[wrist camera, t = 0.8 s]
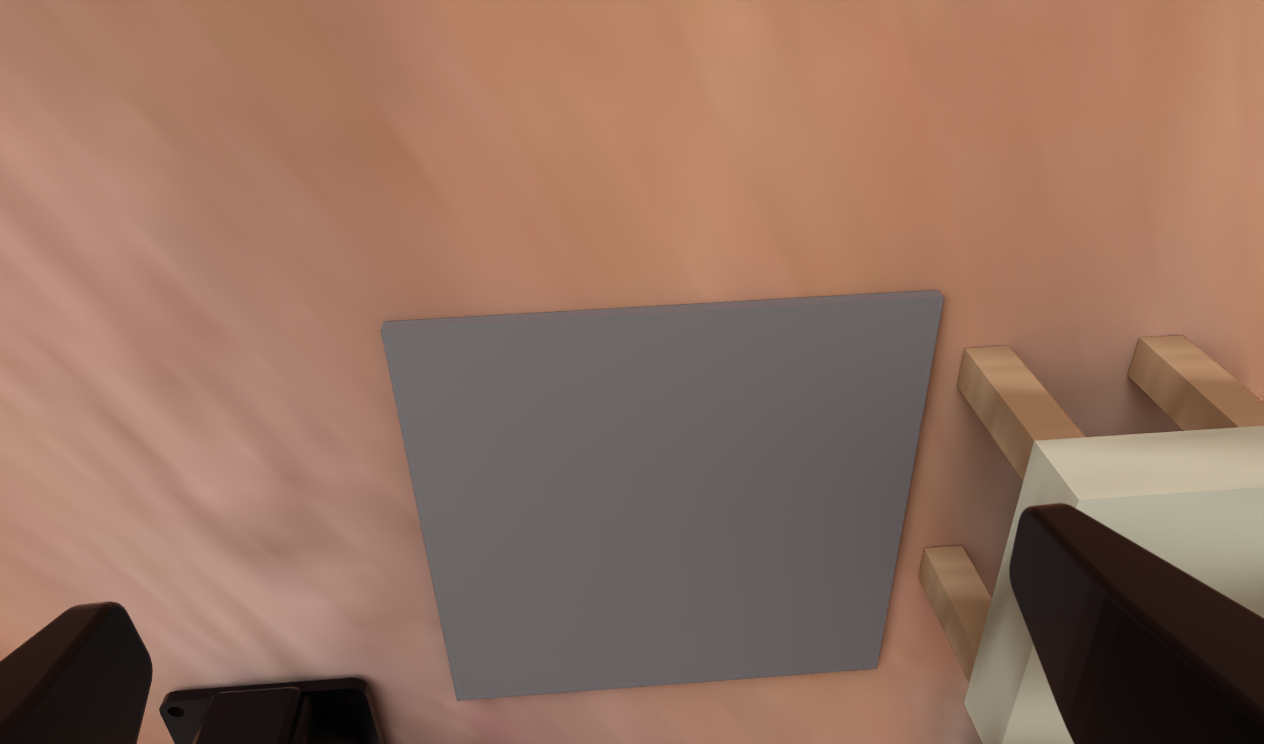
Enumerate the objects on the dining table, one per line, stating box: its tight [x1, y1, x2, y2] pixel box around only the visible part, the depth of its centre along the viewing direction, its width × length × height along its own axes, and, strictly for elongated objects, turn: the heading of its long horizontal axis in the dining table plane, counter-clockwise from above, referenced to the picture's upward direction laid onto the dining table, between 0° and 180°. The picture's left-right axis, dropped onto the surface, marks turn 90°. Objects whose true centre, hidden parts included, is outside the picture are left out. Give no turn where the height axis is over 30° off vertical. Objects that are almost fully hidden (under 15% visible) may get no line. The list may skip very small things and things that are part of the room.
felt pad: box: [381, 290, 944, 701], centre depth 26 cm, size 14×14×1 cm
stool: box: [919, 335, 1264, 744], centre depth 23 cm, size 9×6×6 cm
